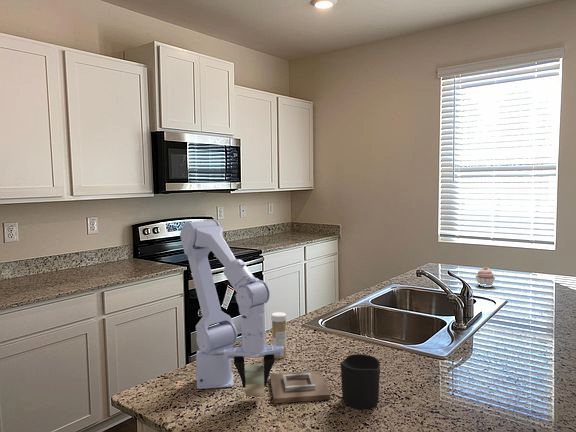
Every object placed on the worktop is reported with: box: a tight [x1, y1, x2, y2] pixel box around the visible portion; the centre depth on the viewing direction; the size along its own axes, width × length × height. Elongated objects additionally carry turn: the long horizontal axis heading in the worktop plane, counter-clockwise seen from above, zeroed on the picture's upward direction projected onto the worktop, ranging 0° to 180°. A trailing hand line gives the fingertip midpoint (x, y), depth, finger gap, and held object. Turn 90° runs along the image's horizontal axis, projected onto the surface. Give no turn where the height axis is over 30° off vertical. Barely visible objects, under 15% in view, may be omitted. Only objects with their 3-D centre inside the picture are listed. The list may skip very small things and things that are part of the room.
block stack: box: [244, 363, 265, 398], centre depth 110 cm, size 4×4×6 cm
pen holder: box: [340, 353, 381, 410], centre depth 109 cm, size 9×9×10 cm
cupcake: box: [475, 266, 496, 286], centre depth 222 cm, size 9×9×10 cm
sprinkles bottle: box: [271, 311, 288, 360], centre depth 138 cm, size 5×5×14 cm
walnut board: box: [269, 370, 331, 404], centre depth 117 cm, size 14×14×2 cm
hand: (254, 385), depth 111 cm, fingers closed on block stack, 4 cm apart
